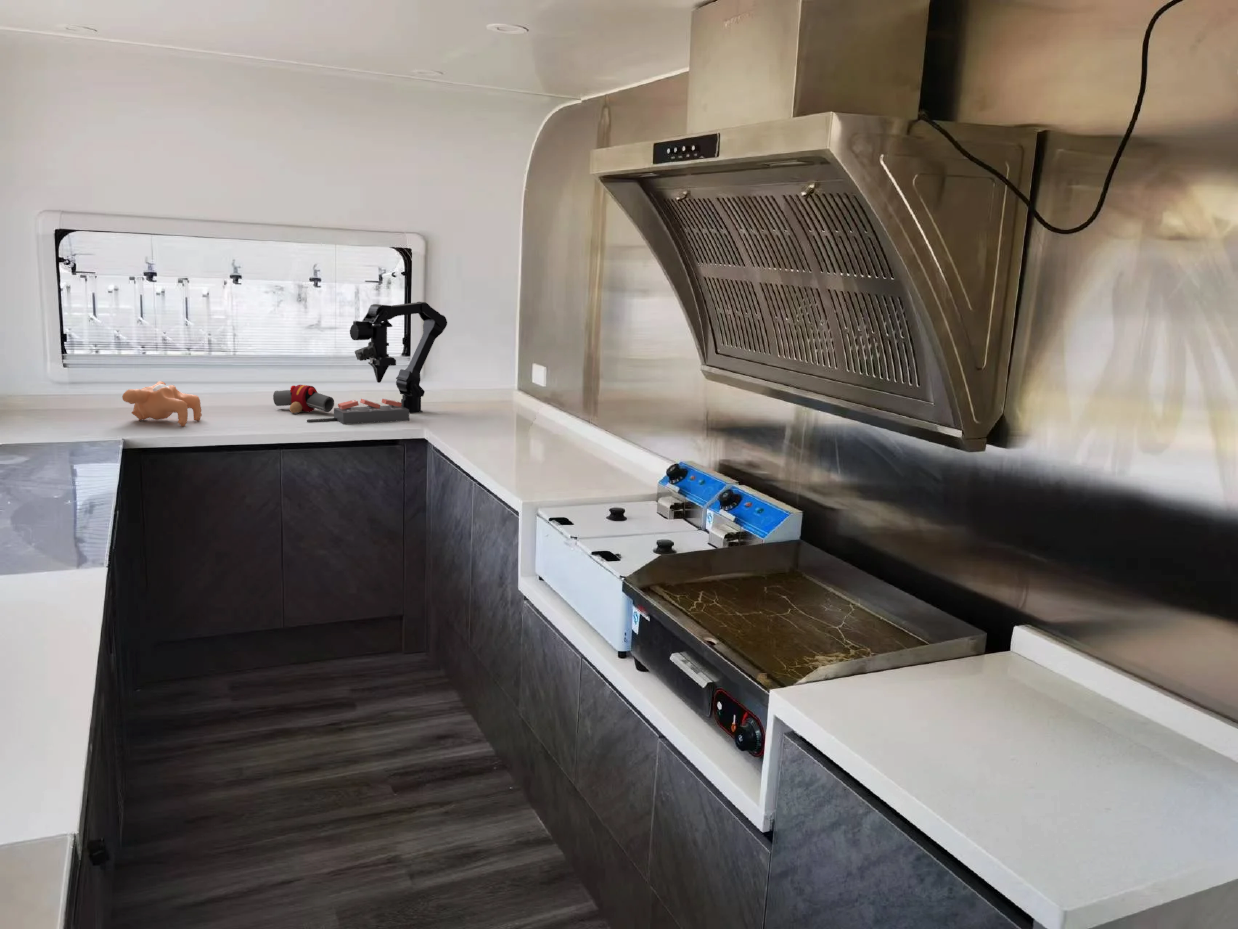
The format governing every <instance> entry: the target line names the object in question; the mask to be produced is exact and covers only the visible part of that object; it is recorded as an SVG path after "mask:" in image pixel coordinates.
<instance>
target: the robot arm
mask: <svg viewBox="0 0 1238 929" xmlns="http://www.w3.org/2000/svg"><path fill="white" fill-rule="evenodd" d="M414 314H418V316H419V317H420V319H421V320H423V325H422V328H423V330H422V331H423V333H422V335H421V338H420V340H419V343H418V344H417V347H416V349H415V350H414V352H413V355H412V358H411V360H410V362H409V364H408V366H407V367H406V368H405V369H402V368H401V369H400V370H399V371H398V374H397V376H396V377H395V380H396V382H395V385H396V388H397V389H398V391H399V394H400V395H402V396H401V400H400V403H402V405H401V406H402V407H404V408H407V409H409V414H413V413H423V410H422V398H423V397H424V395H425V390H424V388H423V387H421V386H420V383H421V372H422V369H423V366H425V363H426V360H427V358H428V356H429V354H430V351H431V349H432V347H433V345H434V343H435V341H436V339H437V338H439V337H440V335H442V334H443V332H444V331H445V329H446V327H448V319H447V317H446V316H445V315H444V314H441V313H440V312H439V311H438V310H436V309H435V308H433V307H432V306H430V304H428V303H427V302H425V301H417V302H409V303H402V304H395V305H394V304H393V305H387V304H381V303H379V304H378V303H373V304H371V305H370V306H369V307H368V311H367V312H366V314H365V315H364V317H363V319H362V320H361V321H360V320H353V322H352V323H353V324H351V327H350V329H349V334H350V335H349V336H350V338H351V340H352V341H368V340H369V341H368V344H367V346H363V347H361V348H359V349H356V350H355V351H354V354H355V357H356V360H357V361H358V360H359V361H361V362H362V361H367V360H369V361H368V362H367V363H368V365H370V366H371V367H372V369H373V372H374V376H375V380H376V382H377V383H380V384H381V382H382V380H383V378H384V376H385V374H386V372H387V370H388V368H389V367H393V366H397V360H396V359H395V358H394V356H390V354H389V353H388V347H389V346H390V343H389V342H388V328H392V327H393V324H392V323H390V322H389V320H392V319H394V318H395V317H399V316H407V315H414Z"/></svg>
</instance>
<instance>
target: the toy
mask: <svg viewBox="0 0 1238 929" xmlns="http://www.w3.org/2000/svg"><path fill="white" fill-rule="evenodd" d="M272 397H273V398H272V399H273V403H274V405H275V406H276V407H283V406H284V407H285V406H289V411H290V413H291V414H293V415H297V414H299V413H301V412H303V413H312V412H314V410H319V411H323V412H324V413H325V412H326V413H329V412H332V411H333V410H334V408H335V407H334V406H335V399H334V398H333V397H332V396H329V395H326V394H323V393H319V392H318V391H317V388H316V387H314V386H313V385H306V384H297V385H291V386H290V389H284V390H283V389H281V390H280V389H279V390H274V392H273V396H272Z"/></svg>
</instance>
